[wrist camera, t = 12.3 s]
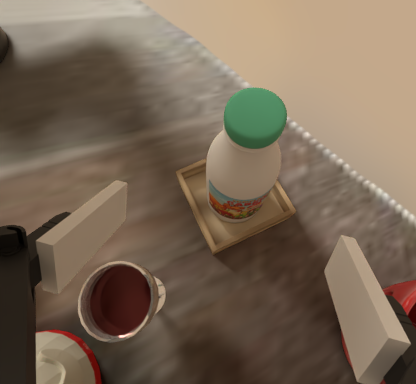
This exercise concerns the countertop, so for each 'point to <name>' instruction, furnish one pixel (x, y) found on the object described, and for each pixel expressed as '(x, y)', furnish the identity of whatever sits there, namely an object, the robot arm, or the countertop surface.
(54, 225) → the robot arm
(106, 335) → the wineglass
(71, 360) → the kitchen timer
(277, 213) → the wooden tray
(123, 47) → the countertop surface
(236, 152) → the milk bottle
